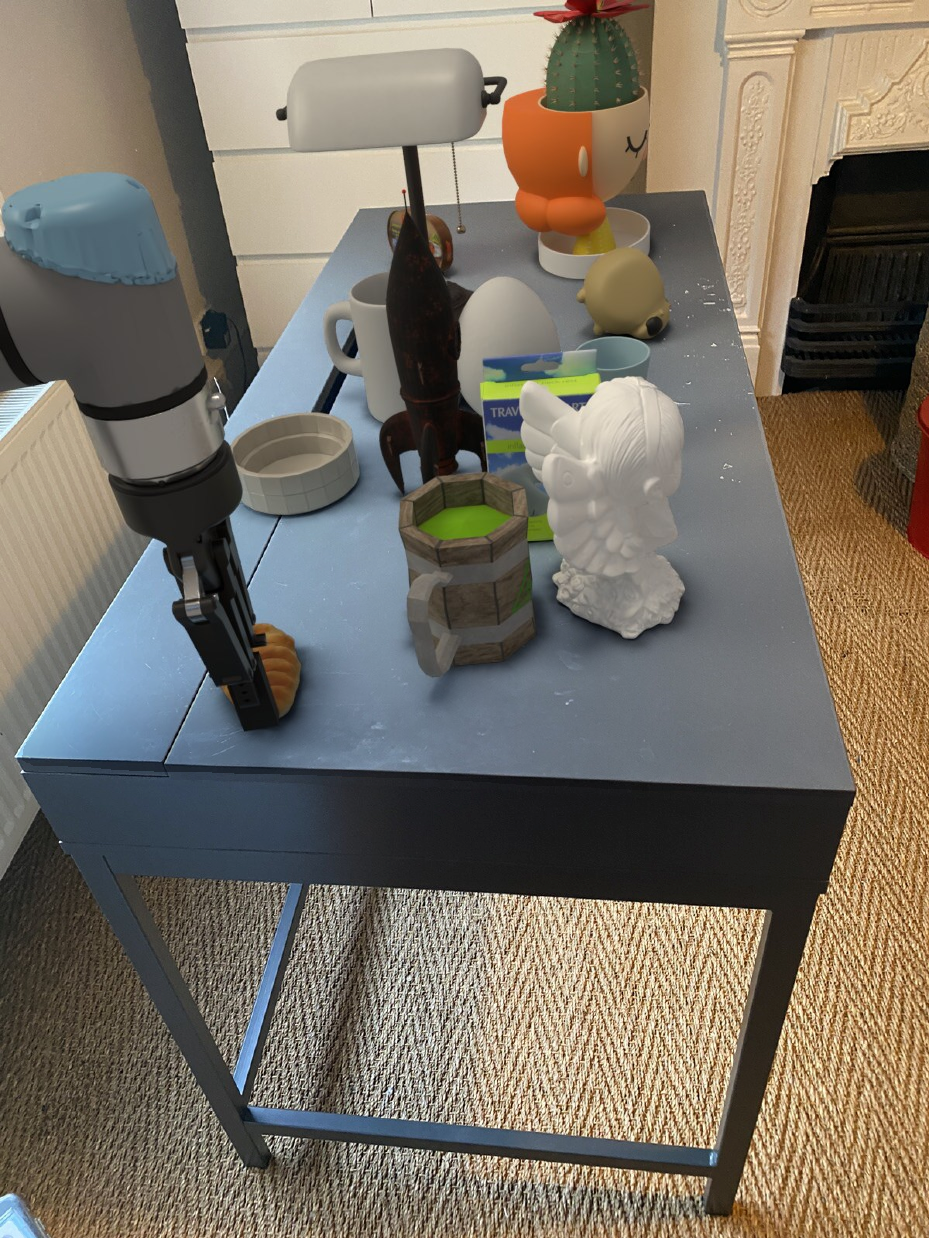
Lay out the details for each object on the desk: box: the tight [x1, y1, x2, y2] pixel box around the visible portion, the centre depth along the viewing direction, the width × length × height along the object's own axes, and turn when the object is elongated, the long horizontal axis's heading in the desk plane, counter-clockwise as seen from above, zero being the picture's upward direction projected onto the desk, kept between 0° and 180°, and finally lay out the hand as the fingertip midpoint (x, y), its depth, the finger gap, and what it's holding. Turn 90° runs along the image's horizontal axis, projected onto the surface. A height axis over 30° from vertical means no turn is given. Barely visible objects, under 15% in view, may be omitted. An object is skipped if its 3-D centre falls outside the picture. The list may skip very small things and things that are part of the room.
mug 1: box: [323, 269, 461, 424], centre depth 108 cm, size 16×11×14 cm
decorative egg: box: [457, 276, 562, 417], centre depth 105 cm, size 12×12×15 cm
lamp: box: [275, 47, 508, 321], centre depth 118 cm, size 26×24×34 cm
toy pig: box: [575, 247, 672, 340], centre depth 119 cm, size 10×12×11 cm
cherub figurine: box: [519, 376, 686, 640], centre depth 74 cm, size 13×12×20 cm
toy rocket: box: [378, 188, 488, 497], centre depth 86 cm, size 9×9×30 cm
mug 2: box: [398, 471, 537, 678], centre depth 75 cm, size 16×11×12 cm
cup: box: [574, 336, 651, 383], centre depth 97 cm, size 8×8×10 cm
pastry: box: [220, 622, 302, 719], centre depth 75 cm, size 9×7×4 cm
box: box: [480, 349, 601, 542], centre depth 84 cm, size 10×4×17 cm, turn 88°
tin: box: [386, 207, 454, 273], centre depth 144 cm, size 15×3×8 cm, turn 37°
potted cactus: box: [501, 0, 652, 280], centre depth 133 cm, size 22×22×35 cm
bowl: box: [229, 412, 361, 516], centre depth 99 cm, size 13×13×5 cm
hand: (261, 722), depth 72 cm, fingers closed
